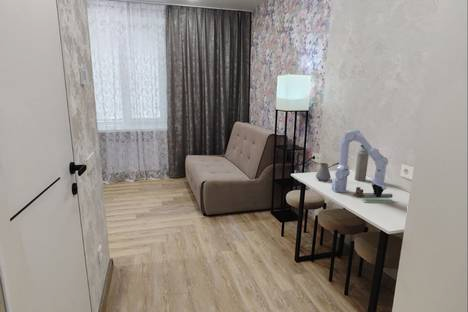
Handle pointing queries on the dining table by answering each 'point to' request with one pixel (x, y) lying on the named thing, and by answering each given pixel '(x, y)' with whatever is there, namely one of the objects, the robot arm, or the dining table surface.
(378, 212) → the dining table surface
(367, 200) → the pad
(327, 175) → the coffee pot
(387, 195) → the rail
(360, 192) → the rack
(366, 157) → the thermos bottle
